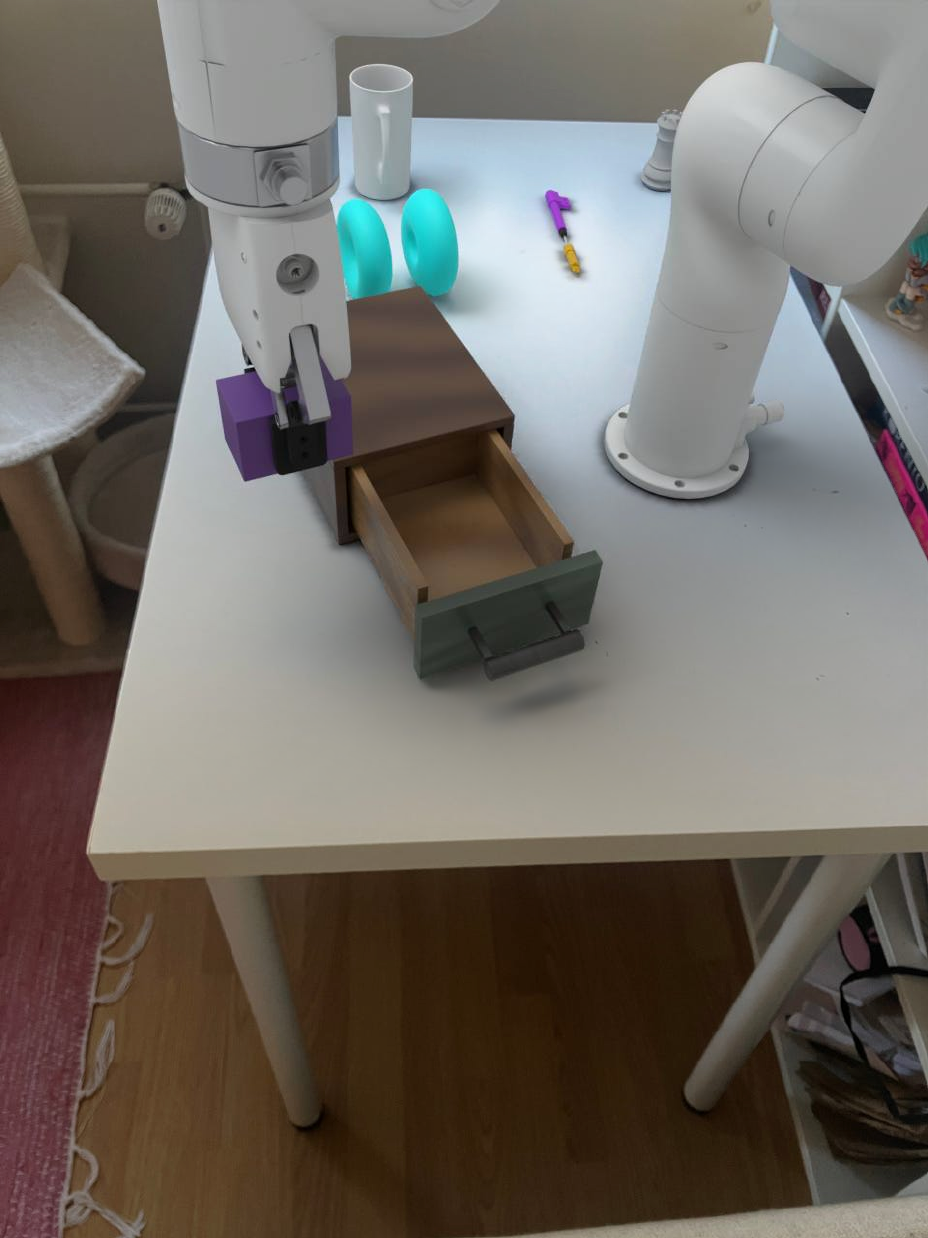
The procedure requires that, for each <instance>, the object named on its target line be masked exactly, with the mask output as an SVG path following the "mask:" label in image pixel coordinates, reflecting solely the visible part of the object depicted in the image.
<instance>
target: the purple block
mask: <svg viewBox="0 0 928 1238" xmlns="http://www.w3.org/2000/svg"><path fill="white" fill-rule="evenodd" d="M319 362H320V368H321V372H322V376H323V381H324V385H325V390H326V394H327V398H328V403H329V407H330V412H331V419H330V420H326V438H327V456H328V461H331V460H335V459H339V458H343V457H347V456H351V455H353V434H352V405H351V395H350V393H349V392H348V390H347V388H346V387H345V385H344V383H343V381H342V380H341V379H338V380H334V379H333V377H332V375H331V374H330V372H329V370H328V368H327V367H326V365H325V363H324V362H323V360H322V358H321V357H320V358H319ZM290 368H293V367H292V365H290V366H289V369H290ZM215 385H216V391H217V398H218V404H219V411H220V417H221V422H222V429H223V435H224V440H225V442H226V444H227V447H228V449H229V451H230V453H231V456H232V458H233V460H234V462H235V465H236V466H237V469H238V471H239V473H240V475H241V478H242V479H243V482H244V483H246V482H251V481H253V480H258V479H259V480H260V479H263V478H267V477H270V476H274V475H275V476H276V475H279V474H278V473H277V471H276V469H275V467H274V458H273V449H272V440H271V431H270V422H269V419H273V418H275V416H274V410H273V404H272V398H271V392H270V389H268V388H267V387H266V386H265V385H264V384H263V382H262V381H261V379H260V377H259V375H258V373H257V372H256V371H255V372H250V373H246V374H244V373H242V374H237V375H233V376H228V377H223V378H218V379H216V380H215ZM284 393H285V400H286V405H287V404H288V403H289V402H291V401H295V400H299V393H298V388H297V386H295V387H290V388H286V389H284Z"/></svg>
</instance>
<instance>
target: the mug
mask: <svg viewBox="0 0 928 1238" xmlns="http://www.w3.org/2000/svg"><path fill="white" fill-rule="evenodd" d="M348 78H349V103H350V119H351V120H350V121H351V137H352V138H351V139H352V155H353V157H352V158H353V176H354V185H355V189H356V190H357V192H358V193H359V194H361V195H362V196H364V197H365V198H369V199H373V200H378V201H389V200H394V199H399V198H401V197H403V196H404V195H406V194H407V193H408V192H409V189H410V183H411V182H410V181H411V166H412V165H411V162H412V161H411V160H412V135H413V134H412V131H413V103H414V101H413V100H414V77H413V75H412V74H411V72H409V71H408V70H406V69H404V68H402V67H400V66H397V65H392V64H387V63H386V64H385V63H373V64H372V63H371V64H366V65H361V66H359V67H356V68H355V69H353V70H352V71H351V72H350V73H349V77H348Z"/></svg>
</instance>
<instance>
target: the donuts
mask: <svg viewBox="0 0 928 1238" xmlns="http://www.w3.org/2000/svg"><path fill="white" fill-rule="evenodd" d="M336 227H337V232H338V238H339V244H340V251H341V258H342V266H343V274H344V283H345V285H346V287H347V290H348V292H349V294H350V296H351V297H352V299H358V298H363V297H368V296H373V295H378V294H382V293H387V292H390V290H391V286H392V281H393V256H392V250H391V244H390V238H389V236H388V233H387V229H386V226H385V224H384V222H383V220H382V218H381V216H380V214H379V213H378V211H377V210H376V209H375V207H374V206H372V205H371V203H369V202H367V201H366V200H364V199H360V198H352V199H348V200H347V201H345V202H344V203H343V204H342V205H341V207H340V209H339V211H338V213H337V217H336ZM400 237H401V238H400V239H401V247H402V251H403V257H404V260H405V264H406V267H407V270H408V272H409V275H410V276H411V279H412V280H413V281H414V283H415V284H416V287H417V286H421V287H422V288H423V289H424V291H425V292H426V293H427V295H428V296H433V297H438V296H439V297H440V296H442V295H445V294H446V293H448V292H449V291H450V290H451V289H452V288H453V286H454V284H455V282H456V279H457V275H458V271H459V261H460V260H459V258H460V256H459V242H458V235H457V229H456V226H455V221H454V218H453V216H452V212H451V211H450V208H449V206H448V203H447V202H446V201H445V199H444V198H443V196H441V194H439V192H437V191H435V190H434V189H431V188H420V189H418V190H416V191H414V192H413V193H412V194H411V195H409V197H408V198H407V200H406V202H405V205H404V207H403V211H402V215H401V222H400Z"/></svg>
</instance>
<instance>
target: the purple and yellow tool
mask: <svg viewBox="0 0 928 1238" xmlns="http://www.w3.org/2000/svg"><path fill="white" fill-rule="evenodd" d="M544 197H545V200H546V204H547V206H548V209H549V211H550V213H551V215H552V218H553V222H554V224H555V228H556V230H557V234H558V235H559V237H560V238H561V239H563V240H564V242H565V245H563V248H562V251H563V253H564V256H565V258H566V259H567V263H568V266H569V268H570V270H571V271H572V272H573V273H576V274H580V272H581V271H580V263H579V260H578V258H577V251H576V249H575V246H574V245H573V244H572V243H568V239H567V237H568V228H567V226H566V222H565V220H564V217H563V215H562V211H561V209H563V210H568V211H570V209H571V207H572V206H571V203H570V200H569V198H568V197H565V196H561V195H559V192H558V191H555V190H552V189H548V190H547V191H546V192H545V195H544Z"/></svg>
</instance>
